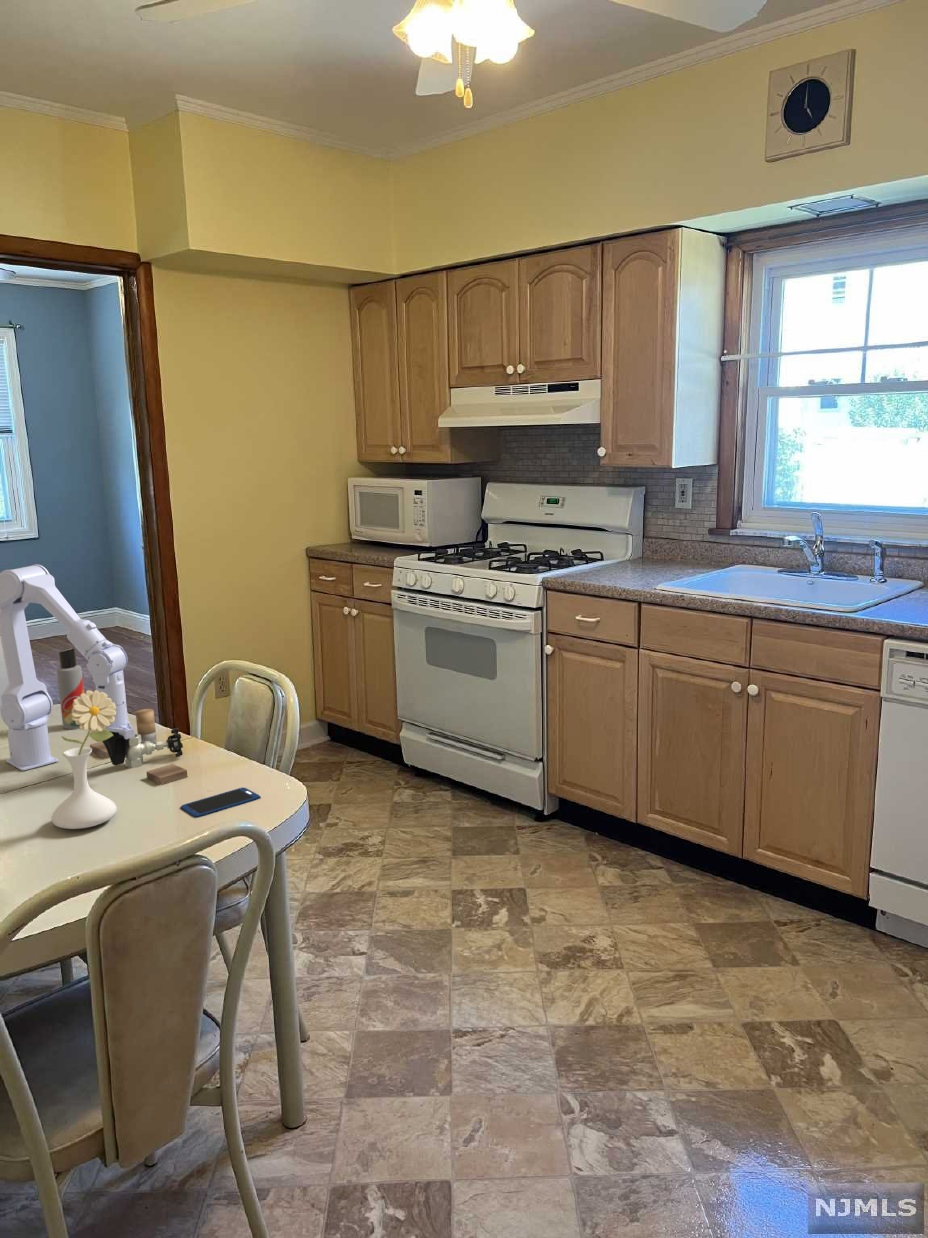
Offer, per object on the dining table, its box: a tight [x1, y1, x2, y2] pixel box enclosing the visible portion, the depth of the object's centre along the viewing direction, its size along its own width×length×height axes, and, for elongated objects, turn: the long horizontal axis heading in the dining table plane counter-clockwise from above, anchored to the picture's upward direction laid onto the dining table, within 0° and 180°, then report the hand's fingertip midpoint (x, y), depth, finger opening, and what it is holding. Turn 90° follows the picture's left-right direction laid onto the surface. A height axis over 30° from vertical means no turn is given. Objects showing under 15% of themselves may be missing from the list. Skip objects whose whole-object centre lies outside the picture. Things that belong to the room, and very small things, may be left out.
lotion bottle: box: [56, 647, 85, 730], centre depth 229 cm, size 6×6×20 cm
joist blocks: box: [89, 741, 188, 786], centre depth 203 cm, size 33×6×2 cm, turn 46°
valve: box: [124, 727, 184, 768], centre depth 203 cm, size 7×7×12 cm
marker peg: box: [135, 708, 158, 744], centre depth 215 cm, size 4×4×8 cm
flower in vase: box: [51, 689, 118, 830], centre depth 170 cm, size 13×11×25 cm
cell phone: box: [180, 786, 261, 819], centre depth 179 cm, size 7×14×1 cm, turn 131°
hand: (118, 763), depth 199 cm, fingers closed
